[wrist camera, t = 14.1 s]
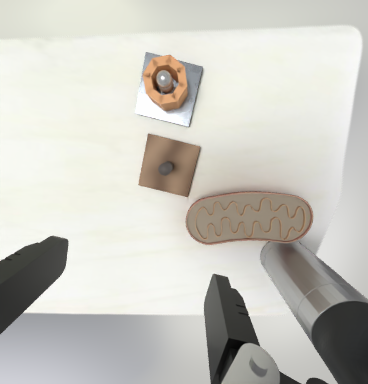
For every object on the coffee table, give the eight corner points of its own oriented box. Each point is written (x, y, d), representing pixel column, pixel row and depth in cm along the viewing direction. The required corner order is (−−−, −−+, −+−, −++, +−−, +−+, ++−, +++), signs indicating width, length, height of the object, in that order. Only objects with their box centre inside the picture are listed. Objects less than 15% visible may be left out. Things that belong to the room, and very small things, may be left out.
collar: (183, 67, 32) (182, 52, 27) (189, 106, 33) (189, 99, 29) (147, 73, 32) (140, 60, 28) (154, 112, 34) (148, 106, 29)
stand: (200, 146, 36) (202, 145, 29) (187, 195, 38) (187, 205, 31) (149, 134, 36) (139, 130, 29) (139, 184, 38) (128, 191, 31)
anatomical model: (187, 234, 40) (186, 245, 35) (185, 189, 38) (184, 194, 33) (295, 231, 39) (310, 242, 34) (300, 185, 37) (316, 190, 32)
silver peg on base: (202, 69, 33) (206, 46, 26) (188, 127, 35) (188, 121, 28) (147, 54, 33) (135, 27, 26) (136, 113, 35) (123, 104, 28)
